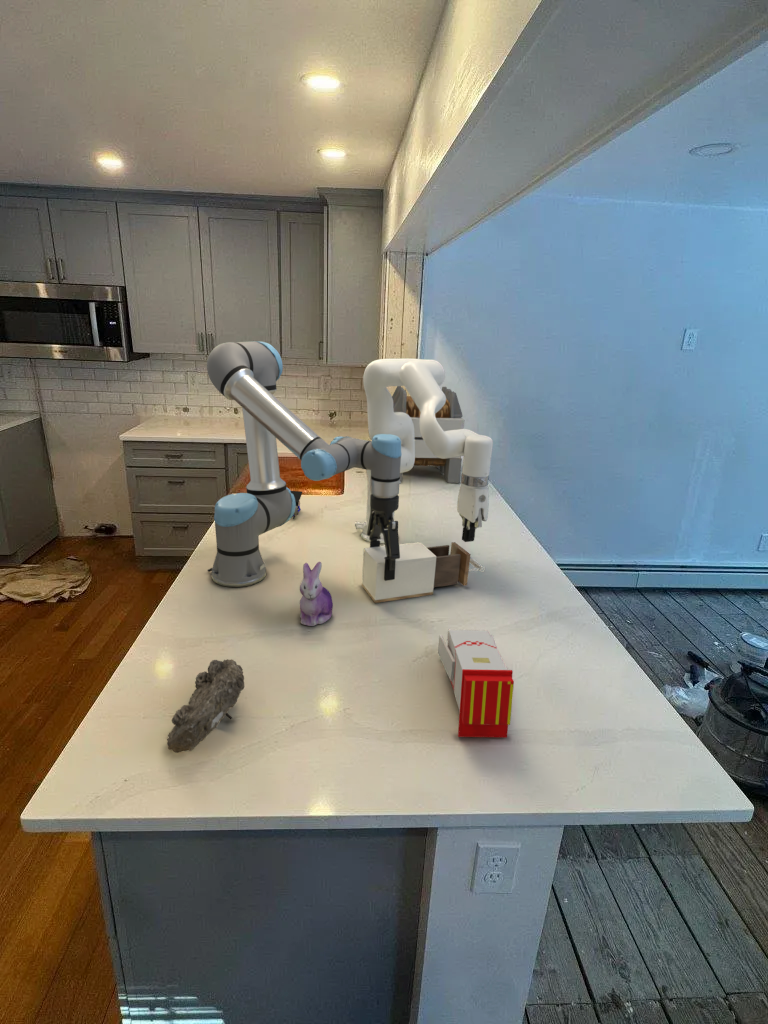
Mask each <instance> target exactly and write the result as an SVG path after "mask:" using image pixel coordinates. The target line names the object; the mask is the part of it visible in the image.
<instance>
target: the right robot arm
mask: <svg viewBox="0 0 768 1024" xmlns="http://www.w3.org/2000/svg"><path fill="white" fill-rule="evenodd" d="M445 378H446V372H445V369H444V366H443V365H442V363H440V361H438V360H436V359H426V358H412V357H411V358H410V357H409V358H407V357H404V358H402V357H401V358H380V359H375V360H373V361H371V362H369V364H367V366H366V367H365V369H364V373H363V376H362V383H363V389H364V393H365V397H366V398H365V399H366V411H367V413H366V414H367V429H368V436H369V439H370V441H372V438H373V436H375V435H378V434H391V435H395V436H398V437H399V438H400V439H401V453H402V455H401V464H400V473H403V474H404V473H407V472H410V471H411V470H412V469H413V467H414V466H413V465H414V462H415V437H414V425H413V422H412V419H411V418H410V416H409V415H408V414H406V413H404V412H394V409H393V398H392V396H393V395H392V394H391V392H390V391H389V389H388V387H397V386H401V387H404V388H405V390H406V392H407V394H409V396H411V397H412V399H413V401H414V402H415V404H416V405H417V407H418V408H419V410H420V412H421V414H420V419H419V426H420V433H421V436H422V438H423V440H424V441H425V443H426V445H427V446H428V448H429V449H430V451H431V452H432V453H433V454H434V455H435V456H436V457H438V458H441V459H446V458H452V457H457V456H461V457H463V458H462V465H461V475H460V485H459V490H458V496H457V502H456V503H457V504H456V505H457V506H456V511H457V513H458V514H459V516H460V517H461V520H462V521H461V523H462V524H461V525H462V533H461V541H462V542H464V543H469V542H474V541H475V536H476V530H477V529H479V528H482V526H483V522H487V521H488V519H489V518H488V517H489V506H490V492H489V478H490V471H491V463H492V457H493V456H492V455H493V448H494V447H493V446H494V441H493V439H492V438H491V437H490V436H489V435H484V434H479V433H477V432H475V431H473V430H471V429H469V428H464V429H458V430H449V431H443V430H442V428H441V427H440V425H439V424H438V422H437V420H436V417H435V413H437V412H438V411H439V410H440V409H441V408H442V407H443V406H444V404H445V402H446V396H445V394H444V393H443V391H442V387H440V386H442V384H443V383H444V382H445ZM365 471H366V480H367V483H366V487H367V488H366V490H367V491H366V519H365V520H366V521H364V522H362V521H355V522H354V527H355V529H356V530H361V534H360V535H361V538H362V539H363V540H364V541H366V542H368V543H370V541H371V540H370V539H369V536H368V535H367V530H368V525H369V519H370V508H371V507H370V495H371V494H372V493H371V492H370V485H371V470H366V469H365ZM395 512H396V511H394V512H393V519H394V520H395ZM384 530H388V529H384ZM380 537H381V538H380V539H379V541H380V544H385V543H384V537H383V534H382V533H381V534H380ZM377 541H378V540H377Z"/></svg>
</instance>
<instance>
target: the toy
mask: <svg viewBox="0 0 768 1024" xmlns="http://www.w3.org/2000/svg"><path fill="white" fill-rule="evenodd" d="M446 640H447V643H446V641H445V639H444V636H443V635H442V634H439V637H438V646H437V656H438V657H439V659H440V661H441V663H442V666H443V668H444V670H445V672H446V674H447V677H448V679H449V681H450V684H451V687H452V690H453V693H454V697H455V701H456V705H457V708H458V711H459V714H458V715H459V716H458V730H457V731H458V732H457V737H458V738H508V731H509V726H510V725H511V717H512V707H513V697H514V696H513V695H514V684H515V680H514V679H513V673H514V671H513V670H512V669H508V667H507V665H506V662H505V661H504V659H503V658H502V655H501V653H500V651H499V649H498V647H497V643H496V639H495V637H494V635H493V634H491V632H490V631H489V629H467V628H466V629H465V628H463V629H461V628H460V629H459V628H448V630H447V639H446Z"/></svg>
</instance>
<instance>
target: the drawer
mask: <svg viewBox="0 0 768 1024" xmlns="http://www.w3.org/2000/svg"><path fill="white" fill-rule="evenodd" d="M425 547H426V548H428V549H429V550H430V551H431V552H432V553H433V554H434V555H435V556H436V566H435V577H434V588H439V587H446V586H453V585H458V584H459V583H460V584H461V585H462V586H463V587H466V586H468V580H469V573H470V572H478V571H480V573H483V572H484V571H485V570H486V568H485V566H484V565H482V564H481V563H480V562H478V561H477V560H476V559H475V558H473V557H472V556H471V553H469V552H468V551H467V550H465V549H464V548H463V547H462V546H461V545H459V544H458V543H457V542H456V541H452V542H451V543H450V545H449V544H445V545H443V544H442V545H435V546H425ZM470 564H471V565H472V566H473V567H474V568H470Z"/></svg>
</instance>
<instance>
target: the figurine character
mask: <svg viewBox="0 0 768 1024" xmlns="http://www.w3.org/2000/svg"><path fill="white" fill-rule="evenodd" d="M290 491H291V493H292V494H293V495H294V497H295V502H296V508H295V512H294V515H293V516H292V520H295V518H296V516H298V515H299V512H301V511H302V509H301V501H300V500H301V497H302V495H303V491H302V490H301V491H299V490H290Z"/></svg>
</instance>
